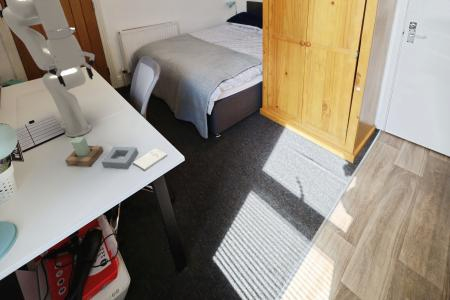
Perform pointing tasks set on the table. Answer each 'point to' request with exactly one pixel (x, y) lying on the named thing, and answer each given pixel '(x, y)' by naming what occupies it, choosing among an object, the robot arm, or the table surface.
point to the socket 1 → (84, 161)
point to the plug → (81, 147)
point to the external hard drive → (149, 159)
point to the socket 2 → (112, 162)
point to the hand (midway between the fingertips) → (78, 81)
